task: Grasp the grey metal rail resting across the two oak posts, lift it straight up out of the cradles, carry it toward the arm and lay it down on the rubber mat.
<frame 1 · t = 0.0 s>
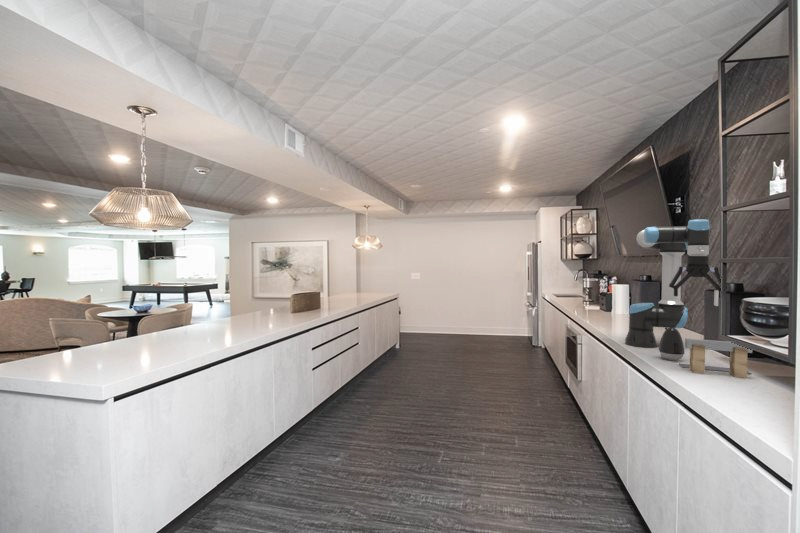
hand: (696, 304, 174), 28 cm above the counter, tool pointing down, fingers open, 13 cm apart
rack: (717, 373, 168), on the counter
black tapered rounded piece: (671, 359, 192), on the counter
rail: (717, 349, 168), point 10 cm above the counter, touching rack
mat: (713, 369, 175), on the counter
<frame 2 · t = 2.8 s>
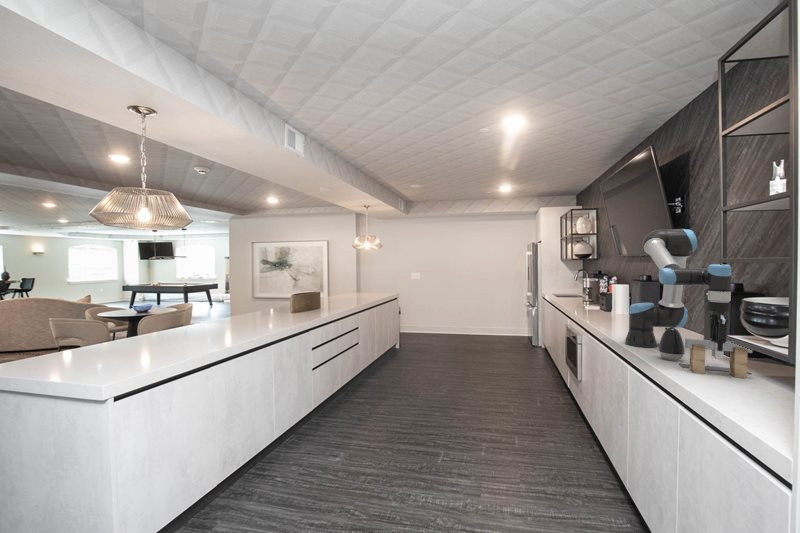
hand: (717, 357, 168), 7 cm above the counter, tool pointing down, fingers closed on rail, 3 cm apart
rail: (717, 349, 168), point 10 cm above the counter, touching gripper, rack
everything else where it was.
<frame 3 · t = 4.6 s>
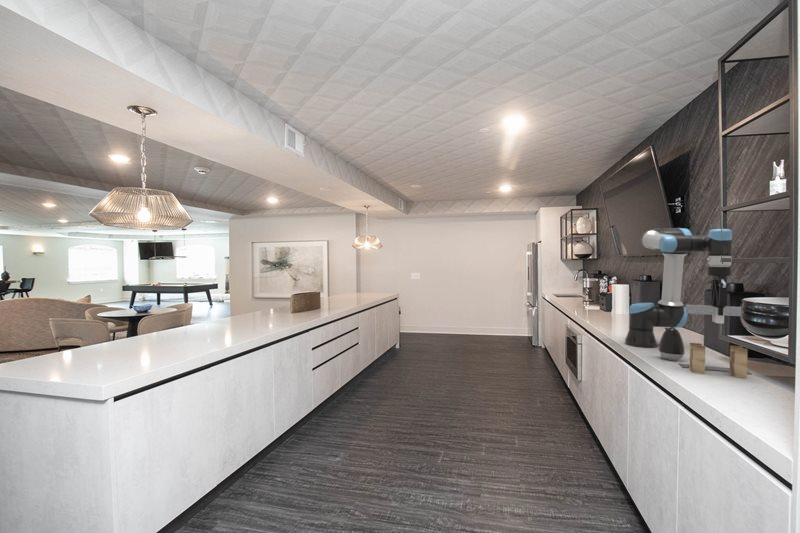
hand: (718, 322, 168), 21 cm above the counter, tool pointing down, fingers closed on rail, 3 cm apart
rail: (718, 314, 168), point 25 cm above the counter, touching gripper
everything else where it was.
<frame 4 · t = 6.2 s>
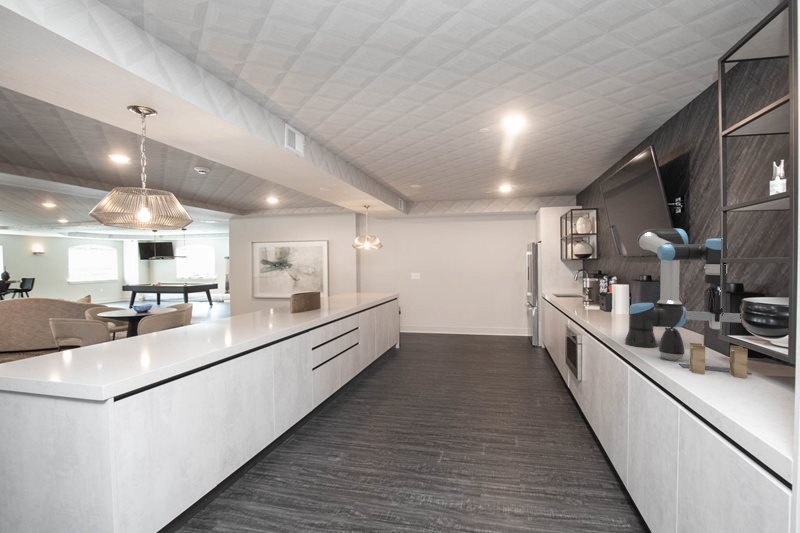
hand: (714, 328, 175), 18 cm above the counter, tool pointing down, fingers closed on rail, 3 cm apart
rail: (714, 320, 175), point 21 cm above the counter, touching gripper
everything else where it was.
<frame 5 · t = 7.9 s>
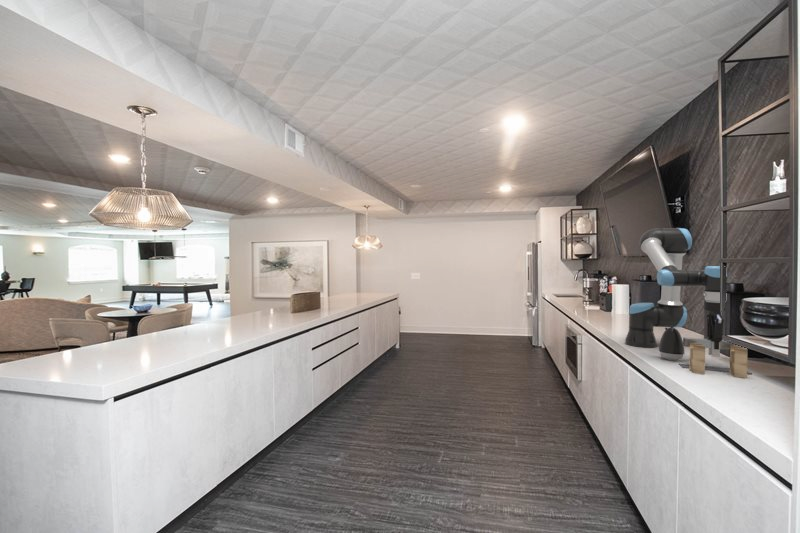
hand: (714, 355, 175), 6 cm above the counter, tool pointing down, fingers closed on rail, 3 cm apart
rail: (714, 348, 175), point 9 cm above the counter, touching gripper
everything else where it was.
when the fingers open (1 cm above the counter, at t = 9.6 s): rail drops 4 cm, resting on mat.
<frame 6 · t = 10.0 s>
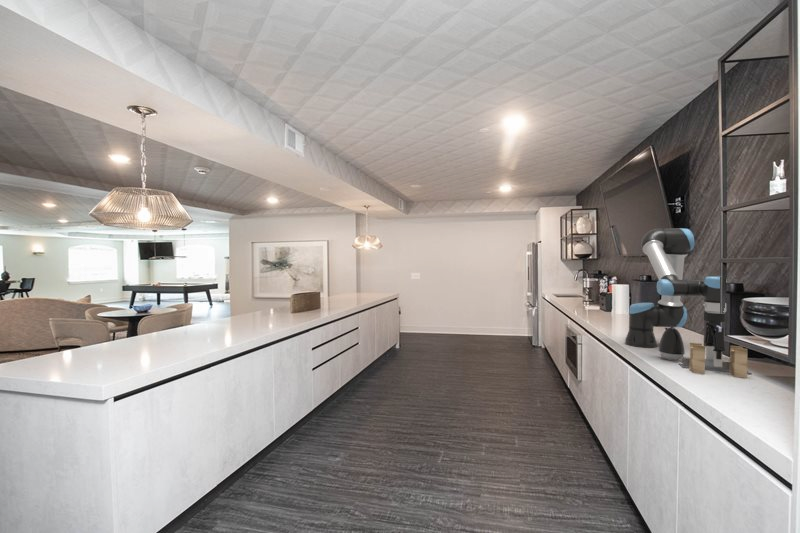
hand: (713, 363, 175), 2 cm above the counter, tool pointing down, fingers open, 9 cm apart
rail: (713, 368, 175), resting on mat
everything else where it was.
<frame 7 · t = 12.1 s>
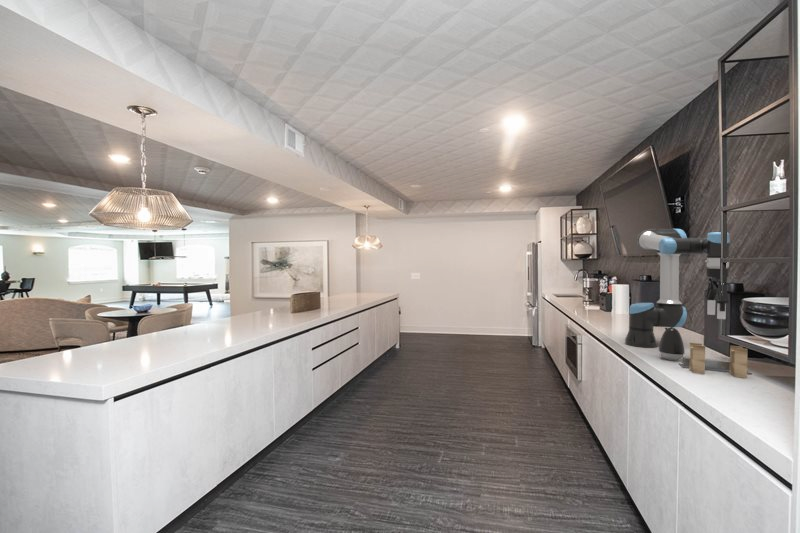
hand: (716, 316, 175), 23 cm above the counter, tool pointing down, fingers open, 13 cm apart
nothing on the counter moved.
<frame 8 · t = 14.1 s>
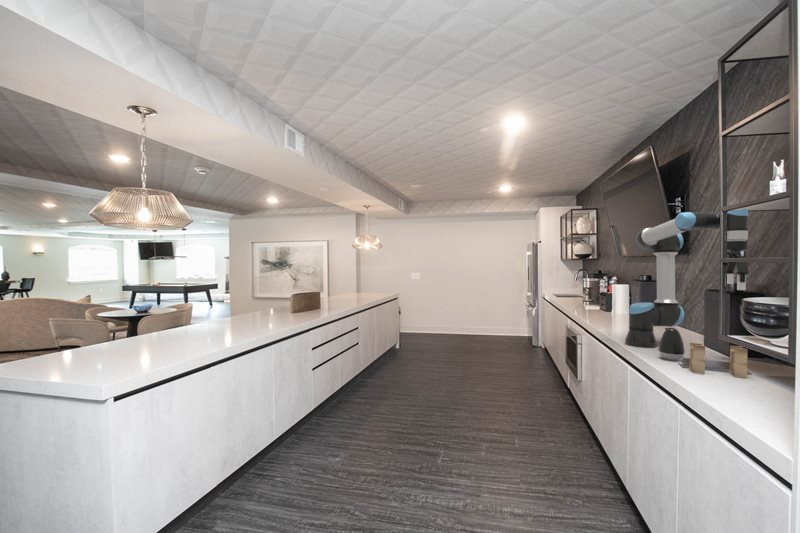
hand: (735, 289, 178), 35 cm above the counter, tool pointing down, fingers open, 13 cm apart
nothing on the counter moved.
at the end: rail inside the target area (0.1 cm from its centre), resting on mat; rail touching mat; the gripper is holding nothing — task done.
